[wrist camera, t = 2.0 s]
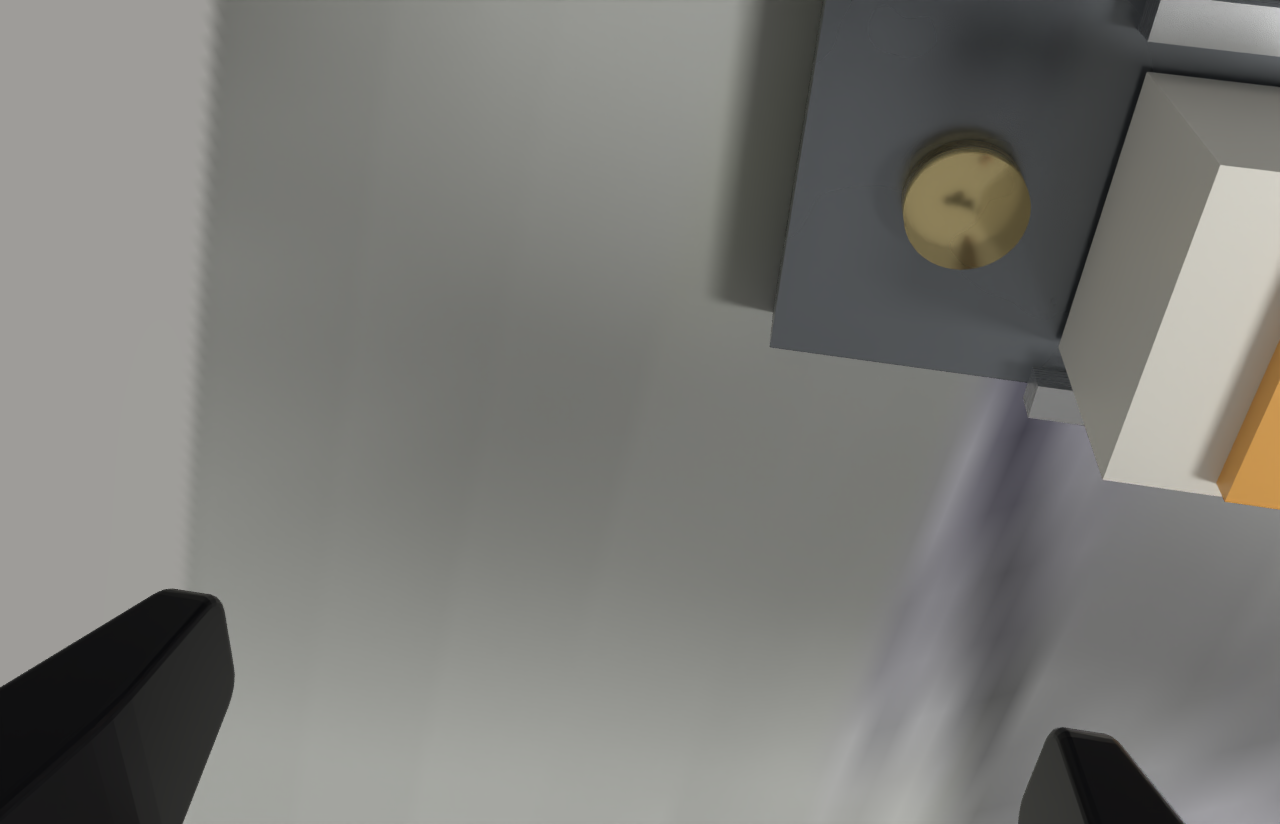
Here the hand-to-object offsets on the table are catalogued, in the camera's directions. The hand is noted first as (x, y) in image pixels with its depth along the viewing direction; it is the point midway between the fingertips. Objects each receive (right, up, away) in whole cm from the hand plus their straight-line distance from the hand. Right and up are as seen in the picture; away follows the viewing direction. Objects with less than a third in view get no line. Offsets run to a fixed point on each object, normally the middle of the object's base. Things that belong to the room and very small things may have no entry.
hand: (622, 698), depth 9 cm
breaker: (+9, +5, +8) cm, 13 cm away
